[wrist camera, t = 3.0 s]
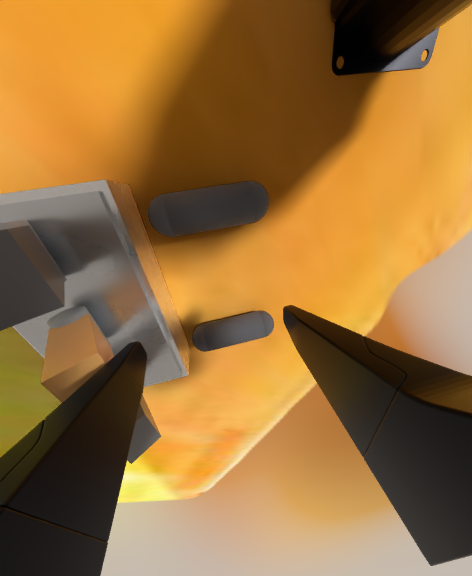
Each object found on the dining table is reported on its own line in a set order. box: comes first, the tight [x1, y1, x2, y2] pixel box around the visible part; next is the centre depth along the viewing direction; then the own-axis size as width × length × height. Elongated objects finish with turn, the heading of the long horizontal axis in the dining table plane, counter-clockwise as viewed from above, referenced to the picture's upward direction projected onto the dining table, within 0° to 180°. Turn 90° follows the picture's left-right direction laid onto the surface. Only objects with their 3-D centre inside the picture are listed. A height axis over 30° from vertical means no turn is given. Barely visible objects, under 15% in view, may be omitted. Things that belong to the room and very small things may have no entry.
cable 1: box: [148, 181, 269, 237], centre depth 11 cm, size 7×2×2 cm, turn 98°
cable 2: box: [192, 311, 274, 352], centre depth 16 cm, size 7×2×2 cm, turn 98°
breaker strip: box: [0, 180, 190, 387], centre depth 12 cm, size 8×14×3 cm, turn 8°
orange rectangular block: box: [41, 306, 114, 403], centre depth 8 cm, size 2×3×5 cm
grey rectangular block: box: [0, 220, 67, 331], centre depth 6 cm, size 2×3×5 cm
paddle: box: [127, 395, 161, 464], centre depth 11 cm, size 2×3×5 cm
